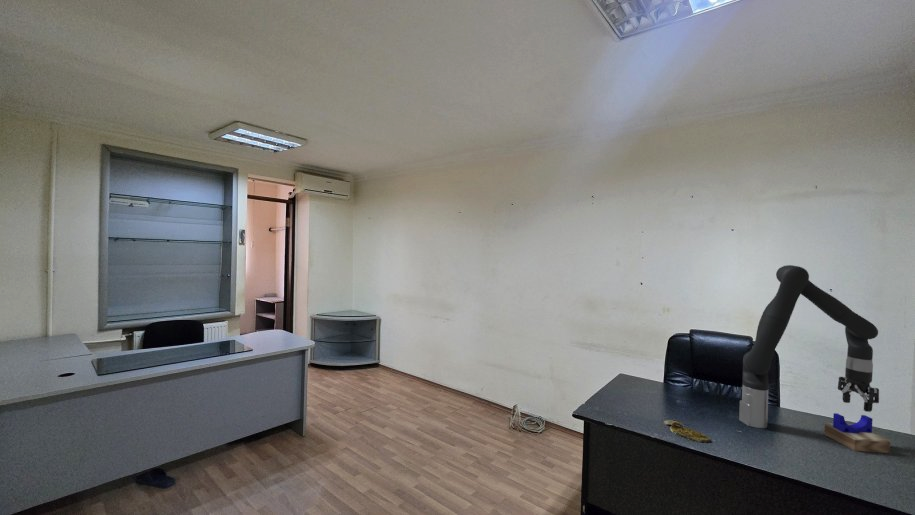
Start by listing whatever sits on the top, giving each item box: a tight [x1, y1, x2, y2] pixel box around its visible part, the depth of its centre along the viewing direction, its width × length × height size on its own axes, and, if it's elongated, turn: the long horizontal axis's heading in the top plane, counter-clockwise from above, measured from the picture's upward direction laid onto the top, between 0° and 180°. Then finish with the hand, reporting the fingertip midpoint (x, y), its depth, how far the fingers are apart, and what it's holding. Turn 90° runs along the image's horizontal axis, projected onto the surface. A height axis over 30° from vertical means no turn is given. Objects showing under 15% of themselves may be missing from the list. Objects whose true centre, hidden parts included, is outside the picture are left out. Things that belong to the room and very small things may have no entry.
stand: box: [824, 422, 891, 454], centre depth 150 cm, size 13×13×5 cm
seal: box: [669, 421, 712, 443], centre depth 154 cm, size 9×5×15 cm
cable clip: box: [832, 412, 873, 433], centre depth 151 cm, size 12×4×6 cm, turn 83°
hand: (856, 406), depth 150 cm, fingers open, 8 cm apart
